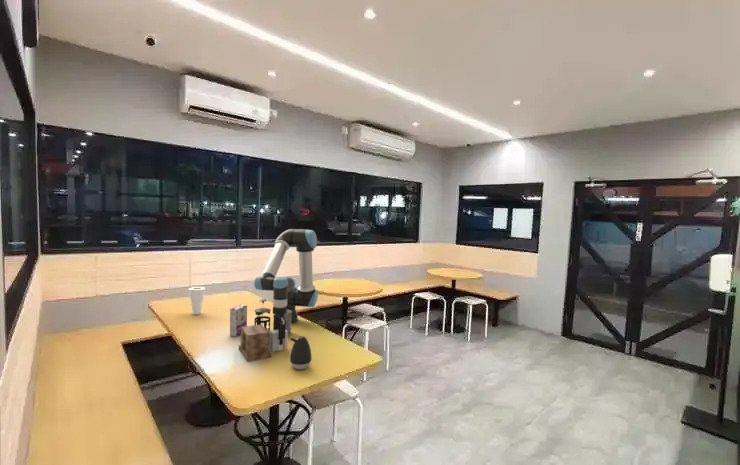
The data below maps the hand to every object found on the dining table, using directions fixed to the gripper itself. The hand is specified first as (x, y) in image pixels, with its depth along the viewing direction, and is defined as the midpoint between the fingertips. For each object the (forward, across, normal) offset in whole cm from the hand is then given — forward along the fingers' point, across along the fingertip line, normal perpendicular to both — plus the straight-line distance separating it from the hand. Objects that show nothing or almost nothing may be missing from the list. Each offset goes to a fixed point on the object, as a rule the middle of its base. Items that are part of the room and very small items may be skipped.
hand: (278, 348), depth 192 cm
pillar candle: (0, -23, +11) cm, 25 cm away
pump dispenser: (+1, +27, +2) cm, 27 cm away
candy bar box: (+1, -34, -13) cm, 36 cm away
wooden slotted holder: (0, 0, -12) cm, 12 cm away
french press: (+1, -20, -3) cm, 20 cm away
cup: (+1, -88, -30) cm, 93 cm away
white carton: (0, 0, 0) cm, 0 cm away
